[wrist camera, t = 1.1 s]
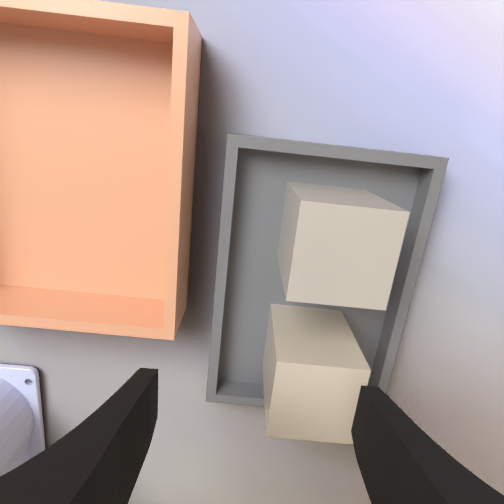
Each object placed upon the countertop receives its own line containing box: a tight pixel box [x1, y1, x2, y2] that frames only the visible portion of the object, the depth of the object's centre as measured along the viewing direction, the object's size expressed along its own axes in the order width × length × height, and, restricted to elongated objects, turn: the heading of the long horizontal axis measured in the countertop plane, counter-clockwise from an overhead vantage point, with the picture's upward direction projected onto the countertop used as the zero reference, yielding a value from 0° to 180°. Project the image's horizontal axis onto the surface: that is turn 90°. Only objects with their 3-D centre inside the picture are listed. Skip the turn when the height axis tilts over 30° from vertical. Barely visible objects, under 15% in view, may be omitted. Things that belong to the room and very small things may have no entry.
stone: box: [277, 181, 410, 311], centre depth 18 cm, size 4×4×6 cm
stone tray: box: [206, 133, 449, 407], centre depth 22 cm, size 16×11×2 cm
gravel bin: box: [0, 0, 202, 340], centre depth 19 cm, size 15×13×4 cm
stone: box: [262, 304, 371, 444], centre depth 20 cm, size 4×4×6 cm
